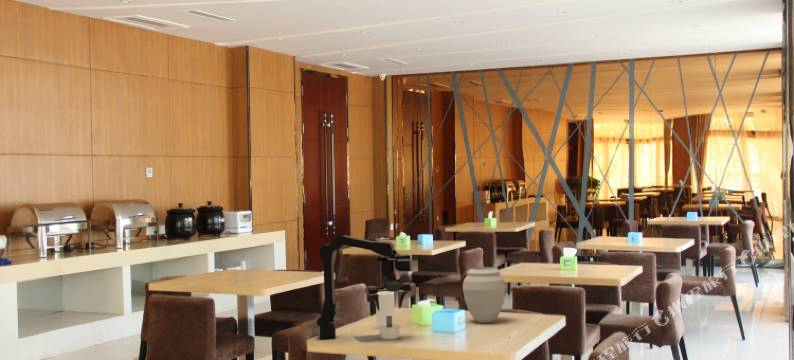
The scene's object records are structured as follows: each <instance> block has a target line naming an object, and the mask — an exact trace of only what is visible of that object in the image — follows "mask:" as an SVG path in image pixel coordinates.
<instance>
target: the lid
mask: <svg viewBox="0 0 794 360" xmlns="http://www.w3.org/2000/svg"><path fill="white" fill-rule="evenodd" d="M378 327H380V328H382V329H383V330H385V329H395V328H399V329H401V328H402V326H401V325H399V324H397V323H395V324H392V316H386V325H378Z"/></svg>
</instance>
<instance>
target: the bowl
mask: <svg viewBox="0 0 794 360" xmlns="http://www.w3.org/2000/svg"><path fill="white" fill-rule="evenodd" d="M379 334H380V337H381V339H385V341H392V339H394V340H399V339H398V338H399V337H400V328H395V329H385V330H383V329H382V328H380V329H379Z"/></svg>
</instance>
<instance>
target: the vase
mask: <svg viewBox="0 0 794 360" xmlns="http://www.w3.org/2000/svg"><path fill="white" fill-rule="evenodd" d="M500 271H501V270H499V269H497V268H496V267H494V266H493V267H491V266H481V267H480V266H478V267H477V266H476V267H471V269H469V270H468V271H467V272H466V273H467V276H465V278H464V280H463V283H462V291H463V296H464V297H463V298H464V302H465V305H466V306H467V307H466V308H467V309H468V312H469V313H470V316H471V317H472V319H474V321H475V322H476V323H479V324H490V323H492V324H493V322H495V321H496V320H497V319H498V317H499V315H500V313H501V312H502V309H503V305H504V301H505V297H506V289H507V287H506V283H505V279H504V277H503V276H502V275H501V273H500Z"/></svg>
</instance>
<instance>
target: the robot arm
mask: <svg viewBox="0 0 794 360" xmlns="http://www.w3.org/2000/svg"><path fill="white" fill-rule="evenodd" d="M345 246H349V247H353V248H358V249H363V250H368V251H371V252H374V253H375V254H378V257H377V258H376V259H375V262H376V263H377V262H380V263H379V264H380V266H379V267H380V274H379V277H380V284H379V285H380V286H379V287H378V286H376V285H370V286H365V288H364V292H365V293H364V294H367V295H368V296H370V297H371V300H372V301H373V302H374V304H375V305H374V306H375V308H376V307H377V310H378V311H379V299H378V297H379V295H378V294H377V293H378V292H384V291H389V292H397V306H398V309H401V308H402V304H403V301H404V298H405V296H406V294H409V292H410V291H411V292H412V285H411V284H410V283H408V282H404V279H403V278H398V279H397V278H396V274H395V270H396V271H397V272H399V273H400V272H401V273H402V272H404V273H405V272H407V273H408V272H412V271H413V261H412V255H411V254H407V255H400V254H399V253H398V252H397V250H396V249H395V245H394V244H393V242H391V241H386V240H381V241H380V240H378V241H376V240H375V241H374V240H369V239H364V238H359V237H354V236H351V235H347V234H344V235H340V236H339V237H338V238H336V239H335V240H334V241H332V242H331V243H328V244H324V245H322V246H321V247H320V248H319V256H320V257H319V259H320V261H321V263H322V264H321V265H322V267H323V291H324V292H323V296H324V299H323V304H322V308H321V314H320V317H318V319H316V324H317V331H318V332H317V333H318V336H317V338H318V340H319V341H320V340H321V341H324V340H325V341H326V340H333V339H334V340H335V339H337V338H336V336H337V335H336V327H335V324H334V323H335V319H337V318H338V317H339V314H340V312H341V310H340V305H341V304H340V302H337V301H336V296H335V290H336V289H335V269H334V268H335V267H334V266H335V262H336V258H337V252H338V251H339V250H341V249H342V248H343V247H345Z"/></svg>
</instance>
